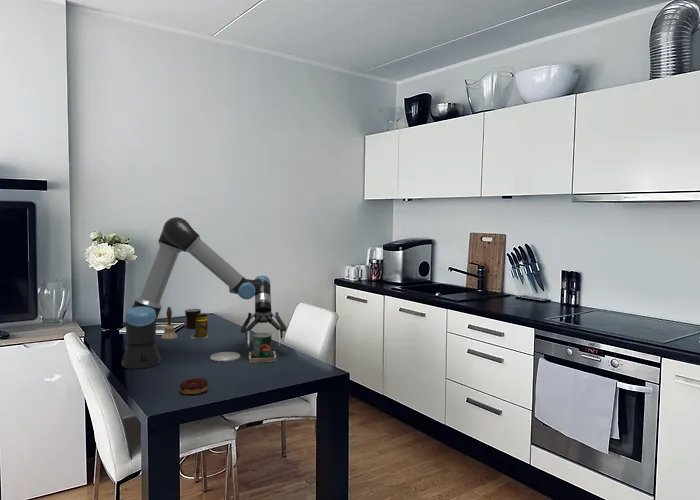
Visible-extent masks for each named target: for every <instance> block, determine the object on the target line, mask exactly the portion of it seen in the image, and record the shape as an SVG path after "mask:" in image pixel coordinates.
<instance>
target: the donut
mask: <svg viewBox="0 0 700 500" xmlns="http://www.w3.org/2000/svg"><path fill="white" fill-rule="evenodd" d="M208 385H209V384H208V380H207V379H206V378H203V377H199V378H196V377H195V378H194V377H193V378H190V379H185V380H183V381H182V382H181V383H180V384H179V389H178V390H179V392H180V393H182V394H184V395H188V394H195V395H198V394H197V393H200V394H202V393H201V392H203V393H205V392H207V390H208V389H209V386H208ZM204 391H205V392H204Z"/></svg>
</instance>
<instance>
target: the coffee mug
mask: <svg viewBox="0 0 700 500" xmlns="http://www.w3.org/2000/svg"><path fill="white" fill-rule="evenodd" d="M201 312H202V309H201V308H200V309H199V308H187V309H185V310H184V314H185V316H184V317H185V321H186V328H187V329H189V330H194V329H196V327H195V326H196V324H195V320H196V315H197V314H199V313H201Z"/></svg>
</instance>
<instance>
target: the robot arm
mask: <svg viewBox="0 0 700 500" xmlns="http://www.w3.org/2000/svg"><path fill="white" fill-rule="evenodd" d="M157 243H158V245H159V249H158V251H157V253H156V256H155V259H154V261H153V264H152V266H151V269H150V271H149V273H148V276H147V279H146V281H145V284H144V287H143V289H142V291H141V294H140V296H139V297H136V298H135V300H134V302H133V305H132V307H131V308H129V309H128V310H127V311H126V312H125V317H124V319H125V338H126V339H125V340H126V341H125V349H124V350H125V351H124V352H123V355H122V359H121V366H122V367H123V368H126V369H132V370H133V369H135V370H137V369H145V368H146V369H147V368H152V367H154V366H158V365H159V364H161V355H160V352H159V349H158V346H157V331H156V330H157V320H158V317H159V315H160V312H161V310H162V305H161V300H162V297H163V295H164V292H165V290H166V287H167V284H168V282H169V279H170V277H171V275H172V272H173V269H174V268H175V267H174V266H175V264H176V261H177V259H178V257H179V255H180V253H182V252H184V253H189V254H190V255H191V256H192V257H194V258H195V259H196V260H197V261H198V262H199V263H200V264H202V265H203V267H205V268H206V269H207V270H208V271H210V272H211V273H212V274H214V275H215V276H216V277H217V278H218V279H219V280H220V281H222V282H223V283H224V284H225V285H226V286H228V292H229V293H230V294H234V295H237V296H239V298H241V299H243V300H251V299H253V298H254V313H251V312H248V313H247V318H246V319H245V321H244V323H243V324H242V326H241V328H240V333H241V334H244V339H245V340H247V347H248V348H249V347H250V331H251V330H252V329H254V327H255V326H256V325H258V324H267V323H268V324H270V325H271V326H272V327H274V328H275V329H276V330H277V333H278V334H277V338H278V346H281V343H282V341H281V339H283V337H284V335H283V334H284V332H287V326H286V325H285V323H284V322H283V319H282V318H281V317H280V315H279V314H280V313H279V312H278V311H276V312H275V313H272V297H271V296H272V295H271V281H270V277H268V276H266V275H257V276H256V277H255V279H249V278H246V277H244V275H242V274H241V273H240V272H239V271H238V270H237V269H235V268H234V267H233V266H231V265H230V263H228V262H227V261H226V260H225V259H224V258H222V257H221V256H220V255H219V254H218V253H217V252H216V251H215V250H213V249H212V247H210V246H209V245H208V244H206V242H204V241H203V240H202V239H201V235H200V234H199V233H198V232H197V231H195V229H194V228H193V227H192V225H190V223H189V222H188V221H187V220H186V219H184V218H182V217H179V216H175V217H171V218H168V220H166V221H165V223H164V224H163V228H162V230H161V233H160V235H159V238H158V241H157ZM253 318H254V319H253ZM252 319H253V321H251V320H252ZM274 319H275V320H276V321H275V320H274ZM249 323H250V324H249Z"/></svg>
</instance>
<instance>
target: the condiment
mask: <svg viewBox="0 0 700 500" xmlns="http://www.w3.org/2000/svg"><path fill="white" fill-rule="evenodd" d="M208 321H209V320H208V314H207V313H203V312H202V313H199V314H197V315H196V320H195V324H196V326H195V327H196V329H195V330H194V331H195V334H192V335H190V336H191V337H190V339H208V338H209V333H208V327H209V326H208Z"/></svg>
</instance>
